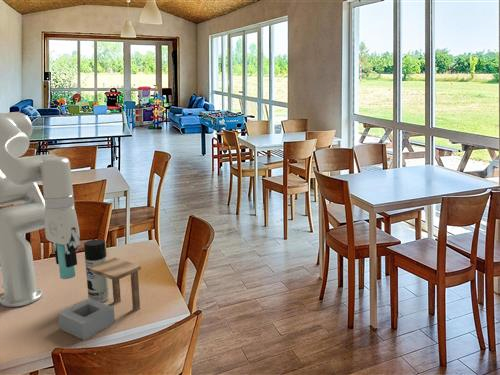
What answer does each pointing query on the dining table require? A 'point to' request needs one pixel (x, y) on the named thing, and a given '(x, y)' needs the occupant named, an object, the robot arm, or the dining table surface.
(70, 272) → the peg
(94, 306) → the socket block
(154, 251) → the dining table surface
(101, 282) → the spray can
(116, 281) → the board on two legs
